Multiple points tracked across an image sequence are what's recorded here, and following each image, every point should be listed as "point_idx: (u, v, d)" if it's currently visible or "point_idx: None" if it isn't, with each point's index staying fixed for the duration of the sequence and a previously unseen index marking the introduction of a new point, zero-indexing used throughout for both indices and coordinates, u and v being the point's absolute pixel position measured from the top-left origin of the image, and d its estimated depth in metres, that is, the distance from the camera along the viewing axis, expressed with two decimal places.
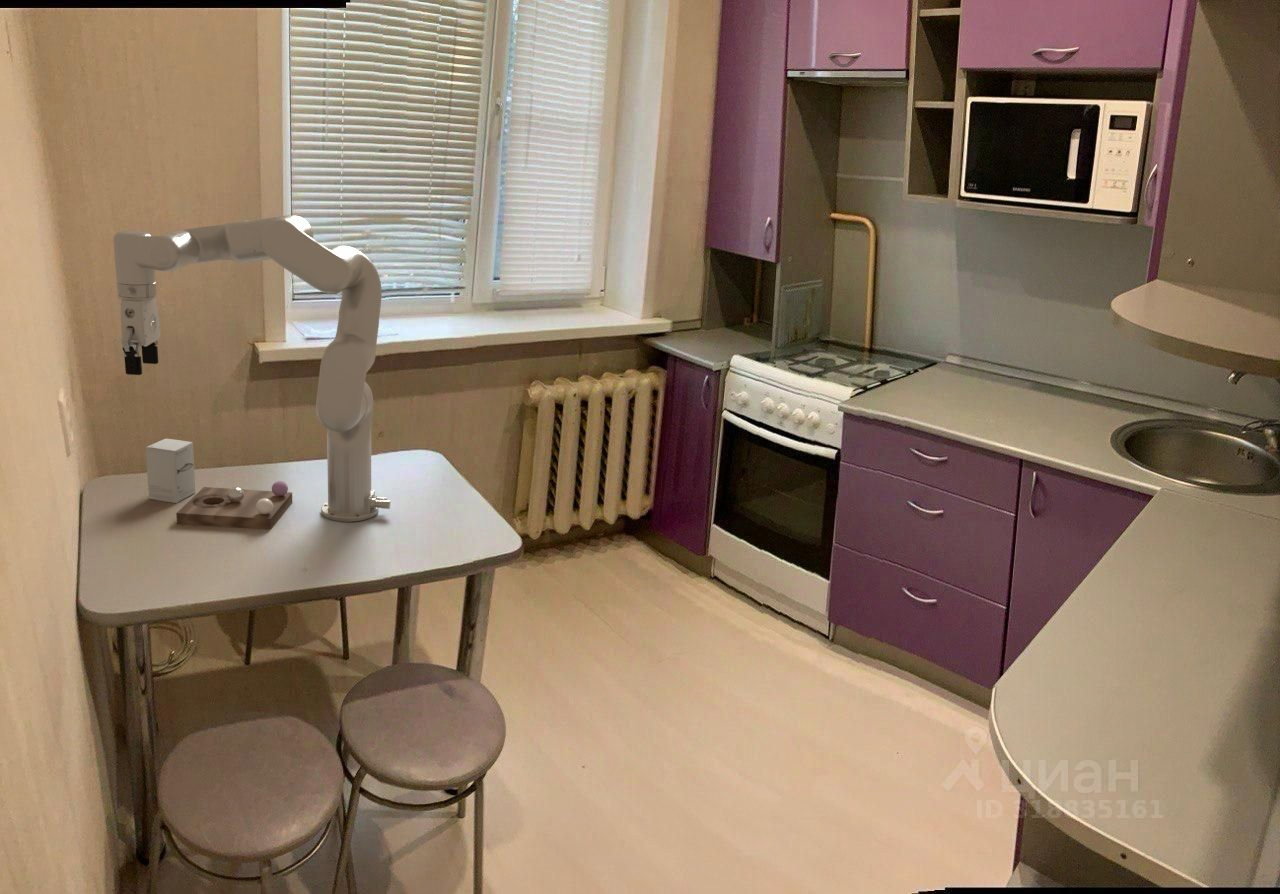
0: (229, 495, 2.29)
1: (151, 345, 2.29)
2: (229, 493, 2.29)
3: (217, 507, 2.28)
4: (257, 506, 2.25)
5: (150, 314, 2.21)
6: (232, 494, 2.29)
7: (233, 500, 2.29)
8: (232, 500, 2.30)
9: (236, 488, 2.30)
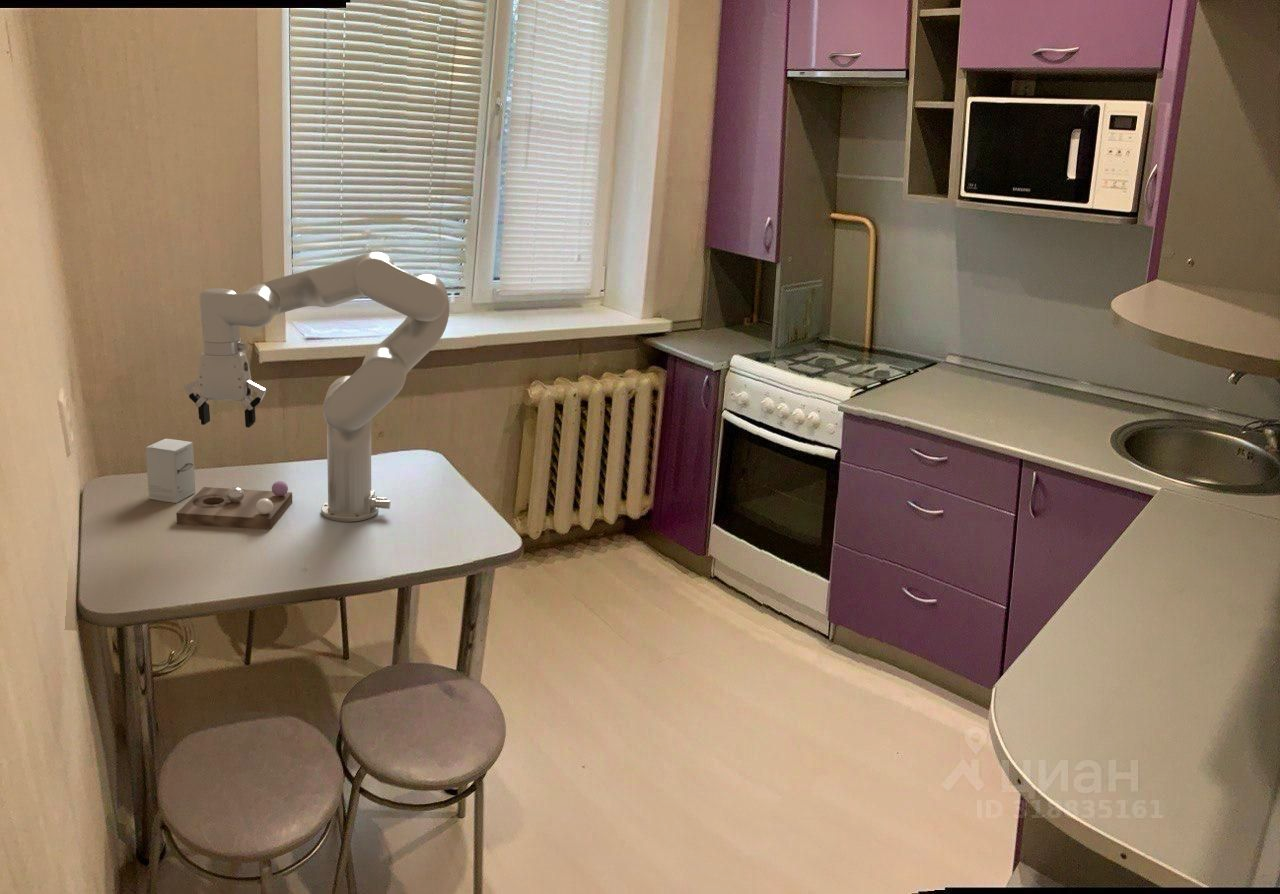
0: (229, 495, 2.29)
1: (206, 404, 2.25)
2: (229, 493, 2.29)
3: (217, 507, 2.28)
4: (257, 506, 2.25)
5: None
6: (232, 494, 2.29)
7: (233, 500, 2.29)
8: (232, 500, 2.30)
9: (236, 488, 2.30)
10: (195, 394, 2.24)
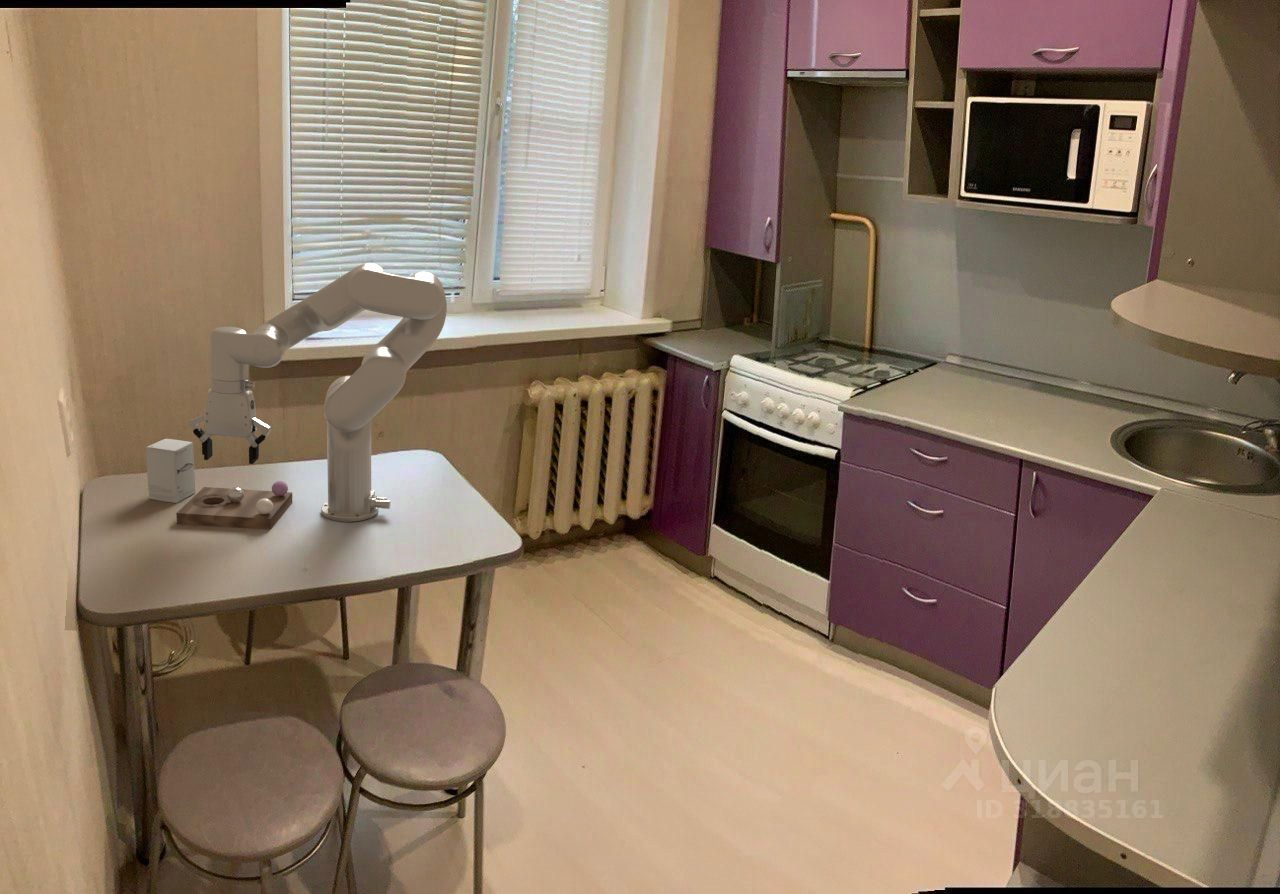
0: (229, 495, 2.29)
1: (209, 439, 2.27)
2: (229, 493, 2.29)
3: (217, 507, 2.28)
4: (257, 506, 2.25)
5: None
6: (232, 494, 2.29)
7: (233, 500, 2.29)
8: (232, 500, 2.30)
9: (236, 488, 2.30)
10: (199, 429, 2.26)
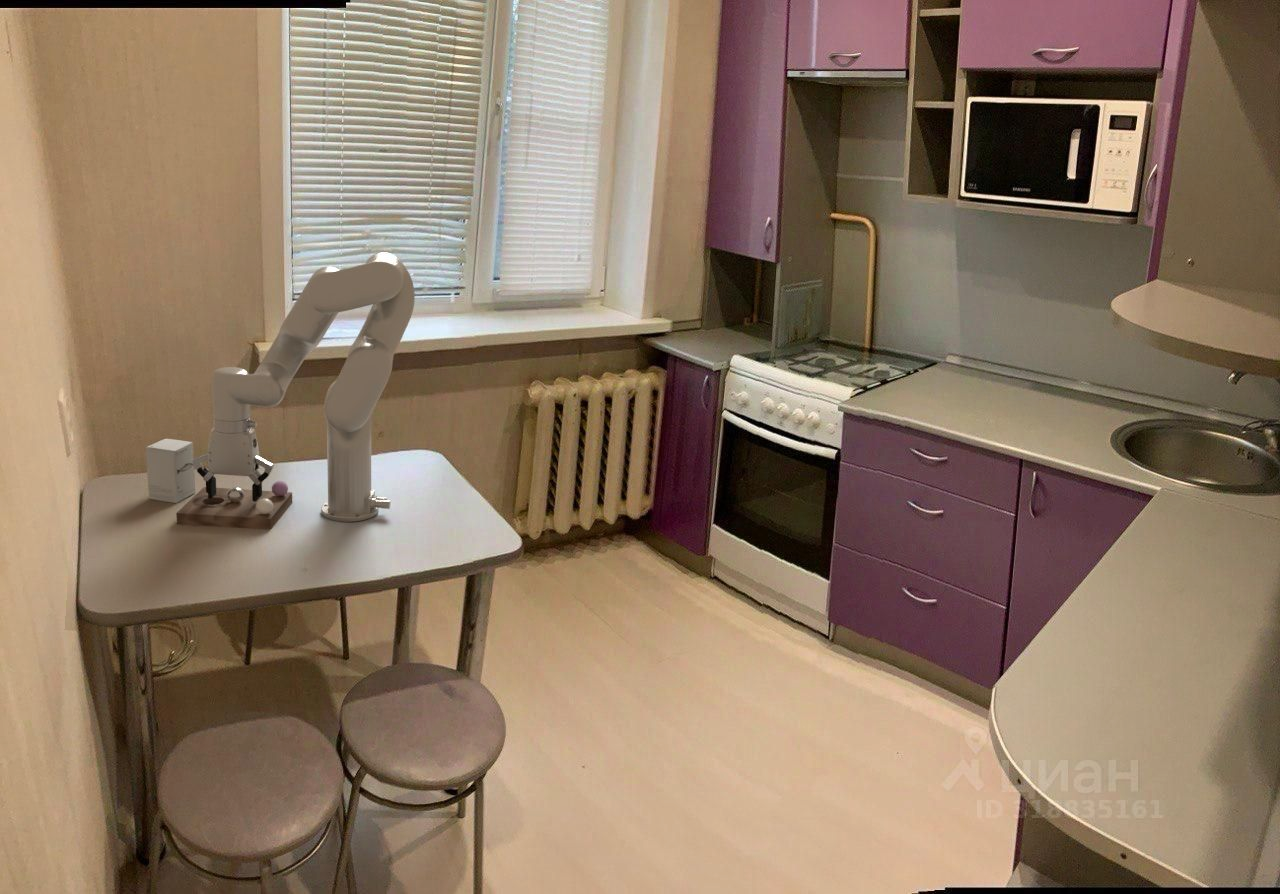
0: (229, 495, 2.29)
1: (213, 477, 2.30)
2: (229, 493, 2.29)
3: (217, 507, 2.28)
4: (257, 506, 2.25)
5: None
6: (232, 494, 2.29)
7: (233, 500, 2.29)
8: (232, 500, 2.30)
9: (236, 488, 2.30)
10: (203, 468, 2.29)
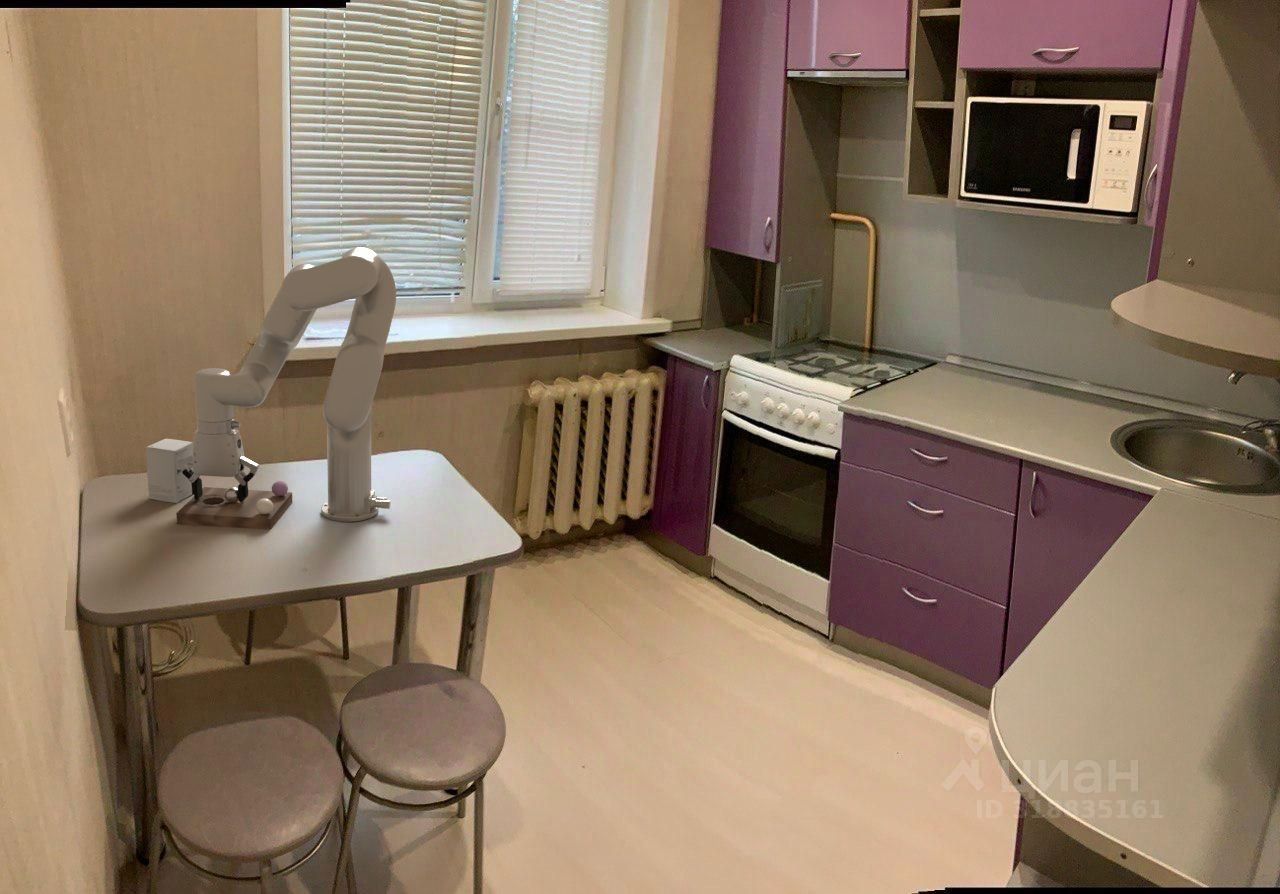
0: (226, 496, 2.29)
1: (199, 479, 2.30)
2: (225, 494, 2.29)
3: (217, 507, 2.28)
4: (257, 506, 2.25)
5: None
6: (228, 494, 2.29)
7: (231, 500, 2.29)
8: (230, 500, 2.30)
9: (230, 488, 2.30)
10: (188, 470, 2.29)
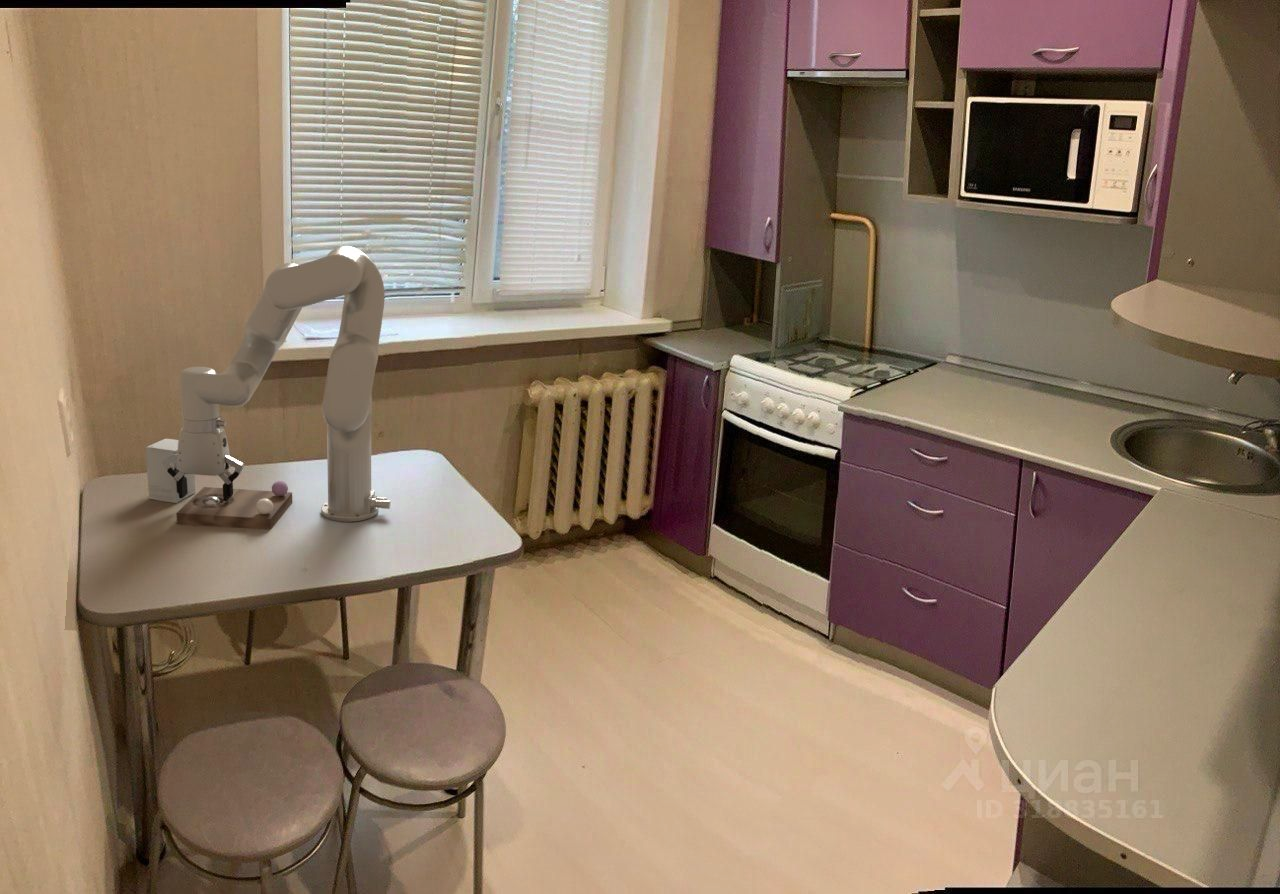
0: None
1: (184, 477, 2.30)
2: None
3: (217, 507, 2.28)
4: (257, 506, 2.25)
5: None
6: None
7: (209, 503, 2.30)
8: (210, 503, 2.30)
9: None
10: (173, 468, 2.28)
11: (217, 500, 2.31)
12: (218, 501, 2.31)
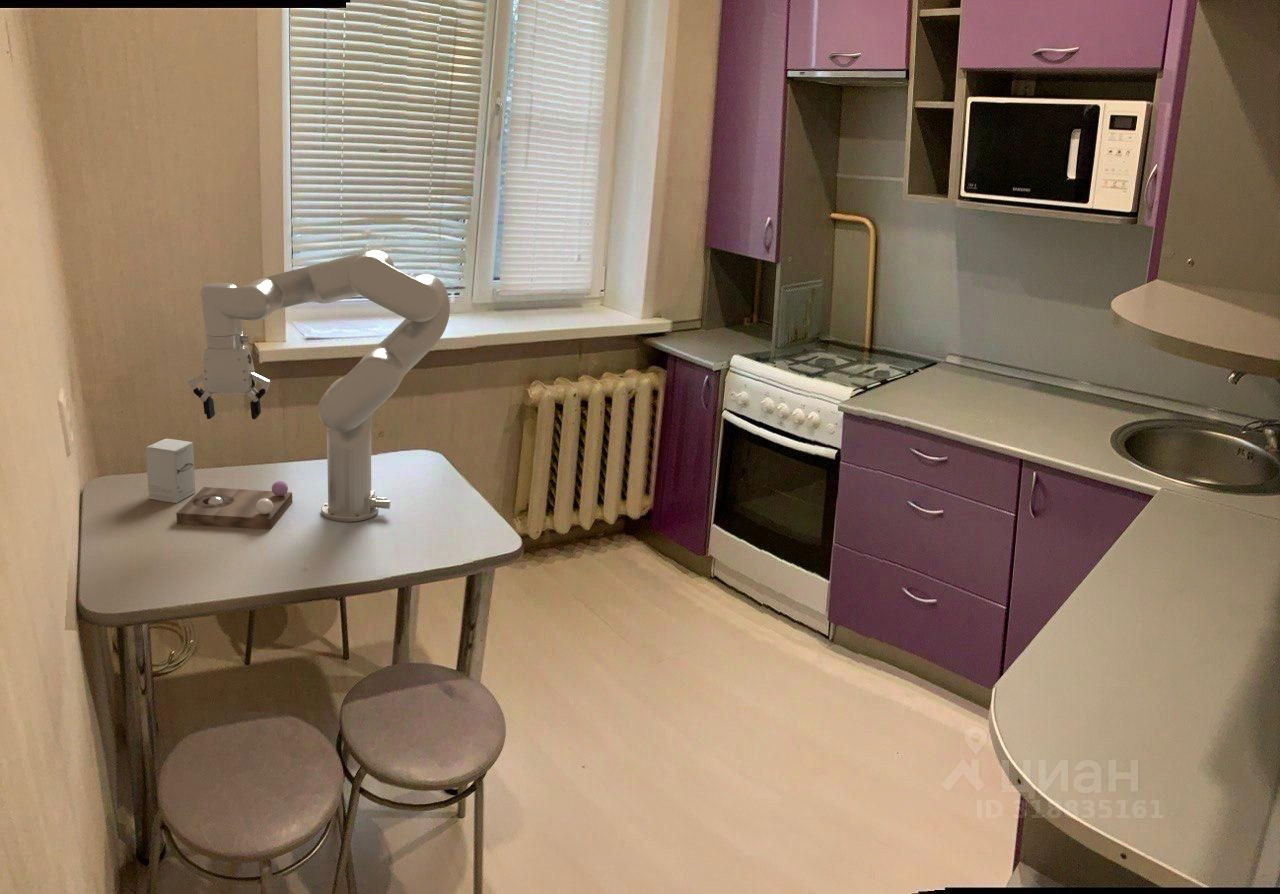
0: None
1: (210, 398, 2.27)
2: None
3: (217, 507, 2.28)
4: (257, 506, 2.25)
5: None
6: None
7: (213, 504, 2.30)
8: (214, 504, 2.30)
9: None
10: (199, 389, 2.26)
11: None
12: None
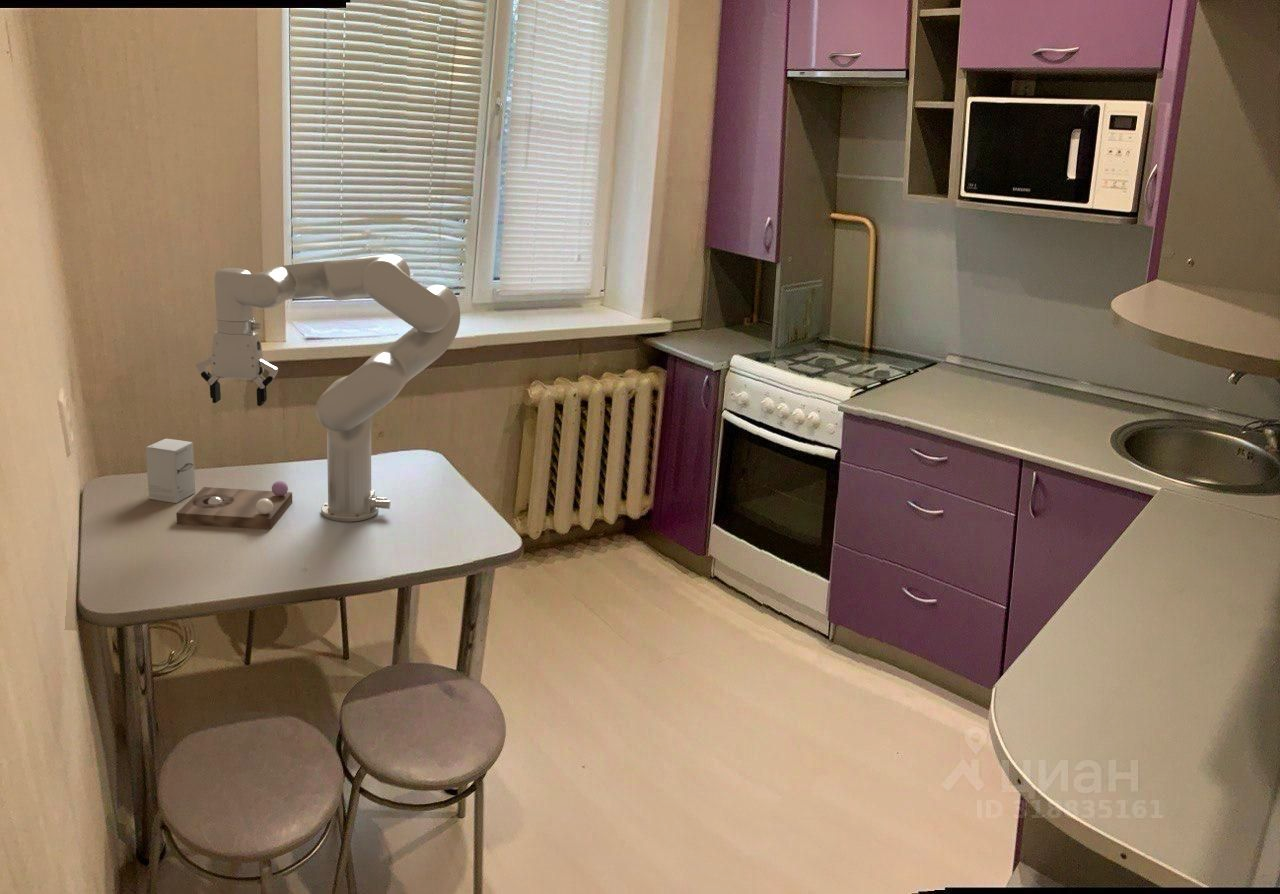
0: None
1: (217, 382, 2.28)
2: None
3: (217, 507, 2.28)
4: (257, 506, 2.25)
5: None
6: None
7: (213, 504, 2.30)
8: (214, 504, 2.30)
9: None
10: (207, 372, 2.26)
11: None
12: None
